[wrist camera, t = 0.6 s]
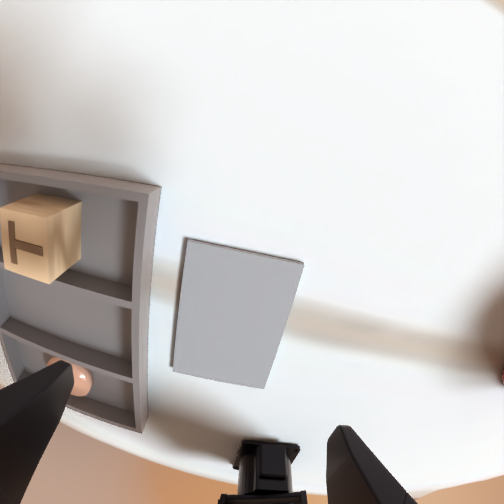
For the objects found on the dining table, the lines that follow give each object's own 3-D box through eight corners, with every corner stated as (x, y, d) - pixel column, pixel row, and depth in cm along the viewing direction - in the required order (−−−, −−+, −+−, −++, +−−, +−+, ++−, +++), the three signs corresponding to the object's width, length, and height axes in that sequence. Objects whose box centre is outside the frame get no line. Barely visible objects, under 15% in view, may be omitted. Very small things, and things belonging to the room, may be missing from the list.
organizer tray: (147, 415, 28) (141, 433, 26) (24, 369, 27) (14, 382, 25) (161, 187, 20) (149, 193, 18) (-4, 163, 19) (-23, 168, 17)
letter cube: (80, 258, 21) (48, 284, 17) (37, 247, 21) (3, 269, 17) (82, 201, 20) (45, 218, 15) (37, 193, 20) (-2, 208, 15)
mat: (263, 385, 26) (263, 388, 25) (173, 368, 25) (172, 371, 25) (303, 262, 22) (304, 265, 21) (188, 239, 21) (187, 240, 21)
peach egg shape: (96, 394, 27) (92, 402, 26) (56, 379, 27) (51, 386, 25) (90, 360, 25) (86, 368, 24) (48, 345, 25) (42, 352, 24)
